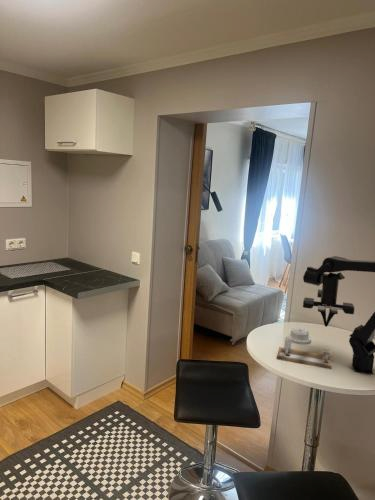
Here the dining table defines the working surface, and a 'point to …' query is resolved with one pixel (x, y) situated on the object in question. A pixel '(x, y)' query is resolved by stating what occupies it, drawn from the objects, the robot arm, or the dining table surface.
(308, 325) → the dining table surface
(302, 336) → the mechanical component
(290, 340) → the block
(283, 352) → the board
